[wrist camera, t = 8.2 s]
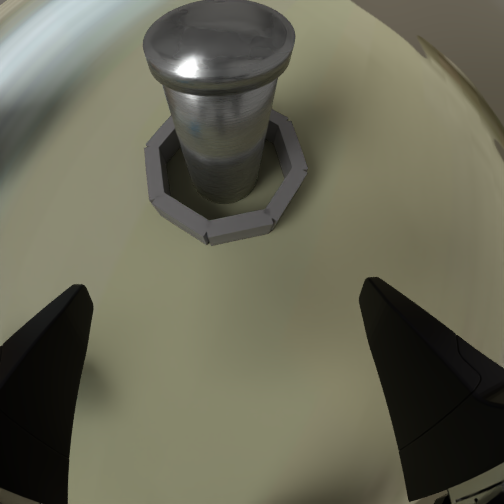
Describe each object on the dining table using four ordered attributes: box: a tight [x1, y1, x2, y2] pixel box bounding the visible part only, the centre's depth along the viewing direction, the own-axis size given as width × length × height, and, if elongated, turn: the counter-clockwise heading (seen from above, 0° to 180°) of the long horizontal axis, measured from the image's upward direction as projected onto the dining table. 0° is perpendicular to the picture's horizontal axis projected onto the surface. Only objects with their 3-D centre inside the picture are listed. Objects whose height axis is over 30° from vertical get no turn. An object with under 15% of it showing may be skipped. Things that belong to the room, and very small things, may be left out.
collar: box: [144, 109, 308, 246], centre depth 19 cm, size 10×10×2 cm
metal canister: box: [143, 0, 295, 204], centre depth 14 cm, size 5×5×12 cm
